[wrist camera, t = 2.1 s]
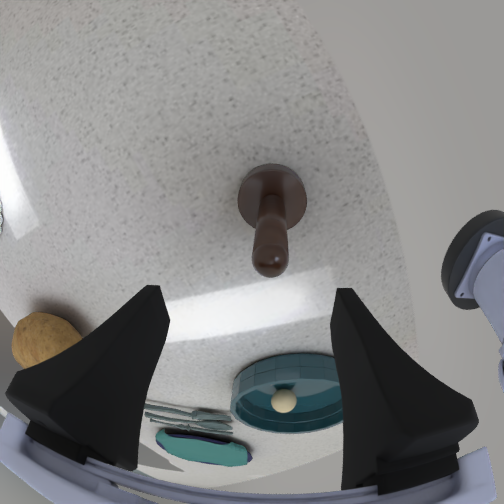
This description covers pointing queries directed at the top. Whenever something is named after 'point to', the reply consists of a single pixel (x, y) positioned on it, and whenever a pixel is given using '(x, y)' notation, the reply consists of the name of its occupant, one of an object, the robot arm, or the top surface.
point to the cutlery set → (199, 439)
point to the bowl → (300, 383)
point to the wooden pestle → (271, 214)
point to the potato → (42, 338)
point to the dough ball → (283, 400)
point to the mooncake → (0, 218)
